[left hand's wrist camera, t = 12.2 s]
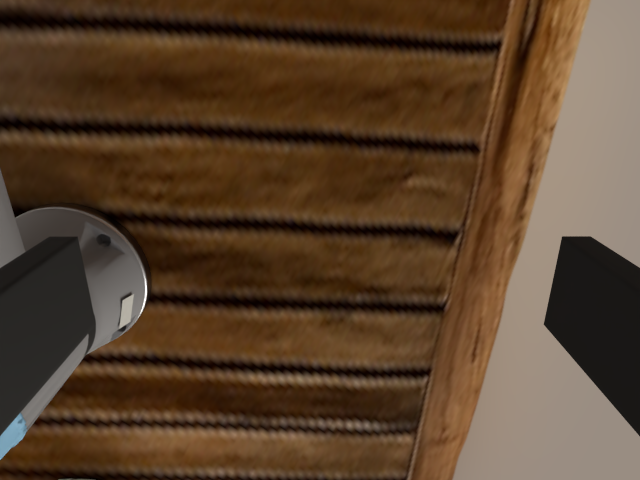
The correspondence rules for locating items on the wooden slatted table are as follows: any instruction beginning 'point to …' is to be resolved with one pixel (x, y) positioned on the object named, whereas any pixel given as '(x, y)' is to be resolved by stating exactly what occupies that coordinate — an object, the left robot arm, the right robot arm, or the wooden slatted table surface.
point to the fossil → (76, 479)
